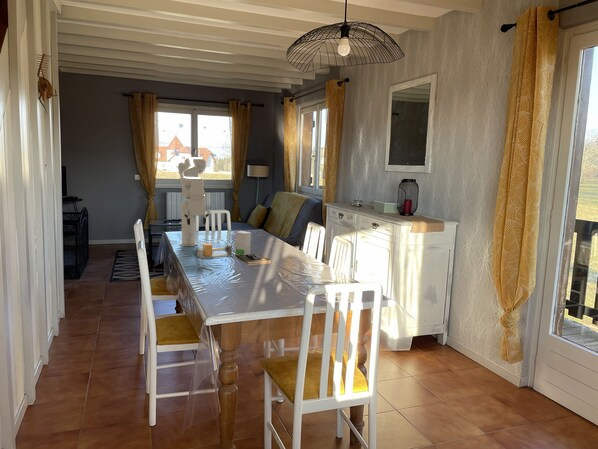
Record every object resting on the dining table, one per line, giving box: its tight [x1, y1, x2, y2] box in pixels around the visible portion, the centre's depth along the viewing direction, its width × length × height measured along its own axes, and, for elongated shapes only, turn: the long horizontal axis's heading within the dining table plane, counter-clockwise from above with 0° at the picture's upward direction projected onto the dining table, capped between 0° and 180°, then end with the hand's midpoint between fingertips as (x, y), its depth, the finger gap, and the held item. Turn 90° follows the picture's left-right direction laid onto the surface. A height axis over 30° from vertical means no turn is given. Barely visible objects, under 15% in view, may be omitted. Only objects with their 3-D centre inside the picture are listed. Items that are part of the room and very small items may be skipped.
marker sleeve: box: [202, 243, 213, 256], centre depth 290 cm, size 5×5×7 cm
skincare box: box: [234, 230, 252, 256], centre depth 296 cm, size 8×7×16 cm
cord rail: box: [196, 244, 234, 259], centre depth 292 cm, size 10×22×6 cm, turn 115°
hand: (196, 224), depth 284 cm, fingers open, 9 cm apart
